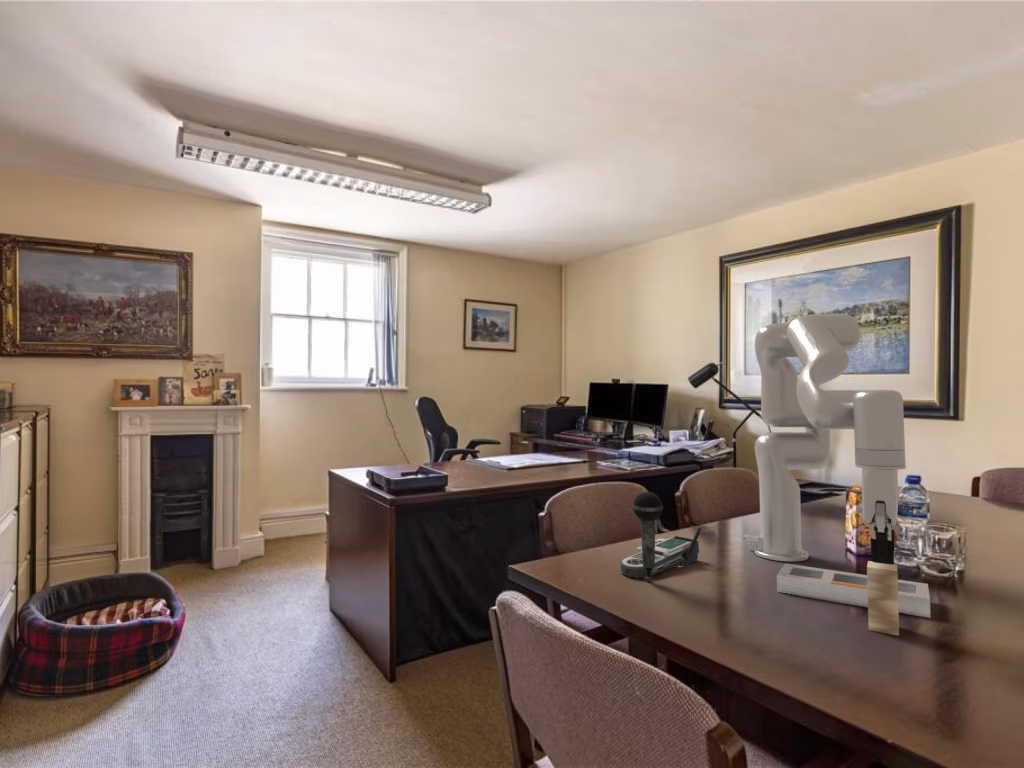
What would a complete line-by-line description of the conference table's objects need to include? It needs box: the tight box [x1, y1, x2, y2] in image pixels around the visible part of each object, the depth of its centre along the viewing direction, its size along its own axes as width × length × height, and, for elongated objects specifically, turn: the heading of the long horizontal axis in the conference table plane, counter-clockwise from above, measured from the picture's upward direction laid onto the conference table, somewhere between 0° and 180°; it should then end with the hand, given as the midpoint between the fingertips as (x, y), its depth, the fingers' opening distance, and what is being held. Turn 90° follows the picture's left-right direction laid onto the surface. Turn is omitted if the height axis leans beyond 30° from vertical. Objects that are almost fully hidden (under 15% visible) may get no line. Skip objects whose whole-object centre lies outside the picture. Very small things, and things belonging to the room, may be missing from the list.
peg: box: [866, 560, 900, 636], centre depth 100 cm, size 4×4×11 cm
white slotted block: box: [776, 563, 931, 619], centre depth 116 cm, size 26×10×4 cm, turn 56°
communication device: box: [620, 527, 702, 579], centre depth 139 cm, size 12×24×9 cm, turn 130°
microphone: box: [631, 491, 664, 583], centre depth 127 cm, size 7×7×20 cm
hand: (883, 556), depth 100 cm, fingers open, 9 cm apart
